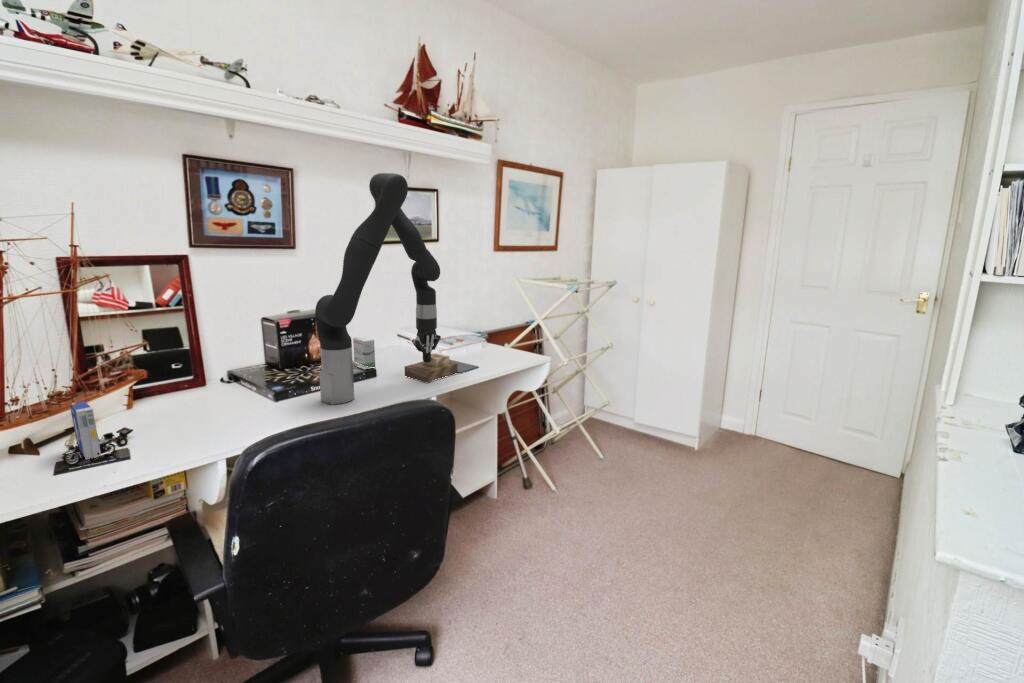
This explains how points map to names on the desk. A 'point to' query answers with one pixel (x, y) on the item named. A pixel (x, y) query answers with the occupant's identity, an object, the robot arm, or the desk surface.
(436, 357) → the maple block
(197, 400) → the desk surface
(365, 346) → the ink box
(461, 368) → the charcoal mat
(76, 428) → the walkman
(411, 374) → the walnut stand
